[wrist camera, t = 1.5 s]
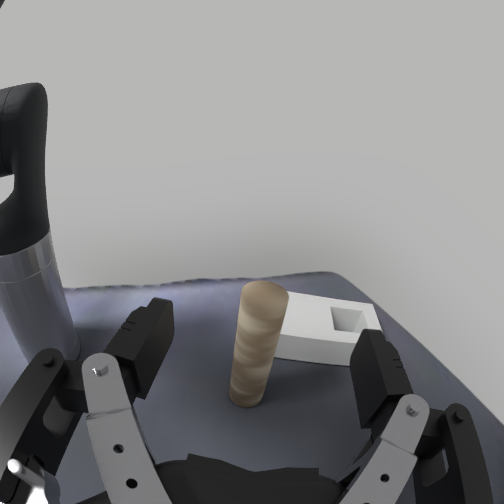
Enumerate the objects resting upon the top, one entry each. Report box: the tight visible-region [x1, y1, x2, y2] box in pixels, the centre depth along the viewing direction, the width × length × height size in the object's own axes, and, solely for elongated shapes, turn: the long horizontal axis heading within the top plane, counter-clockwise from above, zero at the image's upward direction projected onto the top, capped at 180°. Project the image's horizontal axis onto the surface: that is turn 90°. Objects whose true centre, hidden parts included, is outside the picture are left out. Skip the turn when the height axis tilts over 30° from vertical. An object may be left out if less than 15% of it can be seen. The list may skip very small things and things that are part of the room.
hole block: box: [274, 292, 383, 366], centre depth 38 cm, size 18×10×4 cm, turn 82°
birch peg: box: [229, 281, 289, 408], centre depth 26 cm, size 4×4×15 cm
